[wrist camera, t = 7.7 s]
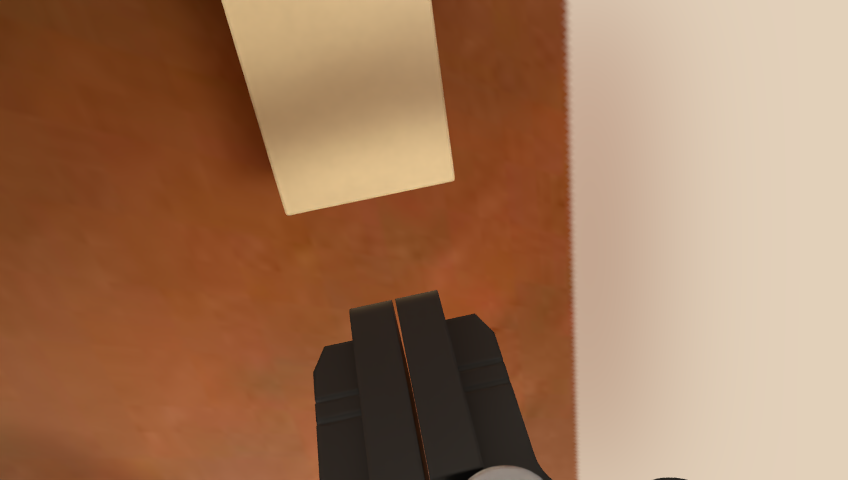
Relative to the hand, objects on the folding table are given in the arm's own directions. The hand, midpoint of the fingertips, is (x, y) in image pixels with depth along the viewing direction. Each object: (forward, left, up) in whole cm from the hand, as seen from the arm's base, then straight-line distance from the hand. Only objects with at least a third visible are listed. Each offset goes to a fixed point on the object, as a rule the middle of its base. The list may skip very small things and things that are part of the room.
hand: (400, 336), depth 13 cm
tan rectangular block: (0, -1, -12) cm, 12 cm away
